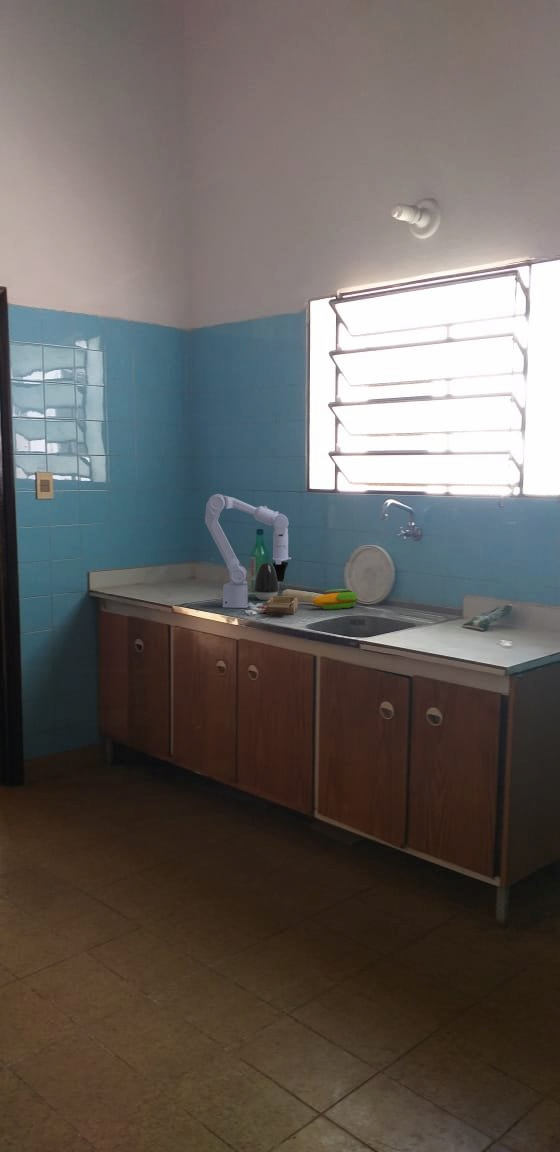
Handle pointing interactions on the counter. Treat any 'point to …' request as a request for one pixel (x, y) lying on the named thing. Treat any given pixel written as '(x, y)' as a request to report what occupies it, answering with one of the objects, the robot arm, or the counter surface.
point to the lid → (280, 602)
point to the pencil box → (289, 611)
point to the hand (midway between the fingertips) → (280, 581)
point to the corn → (336, 599)
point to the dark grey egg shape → (266, 582)
